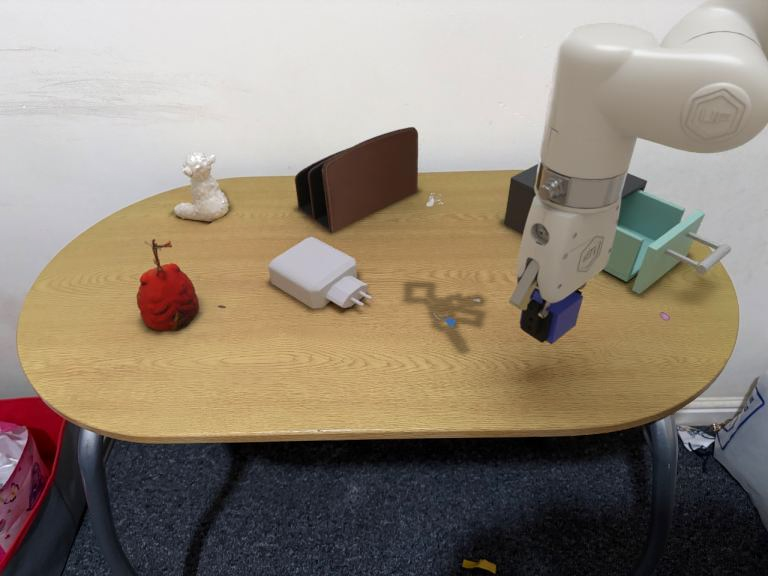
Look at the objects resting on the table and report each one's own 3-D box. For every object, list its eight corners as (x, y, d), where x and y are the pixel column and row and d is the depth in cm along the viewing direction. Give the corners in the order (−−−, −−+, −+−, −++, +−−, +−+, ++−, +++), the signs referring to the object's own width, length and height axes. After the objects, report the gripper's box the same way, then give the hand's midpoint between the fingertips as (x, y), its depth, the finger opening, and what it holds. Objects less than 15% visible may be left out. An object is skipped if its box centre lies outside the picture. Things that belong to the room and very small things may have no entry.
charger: (345, 333, 72) (272, 288, 80) (389, 297, 77) (316, 258, 85) (342, 307, 69) (266, 262, 76) (388, 272, 74) (313, 233, 82)
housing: (630, 232, 88) (647, 180, 82) (577, 269, 81) (592, 216, 75) (556, 197, 97) (567, 148, 90) (503, 228, 90) (510, 177, 83)
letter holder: (418, 195, 98) (420, 122, 89) (331, 238, 89) (323, 160, 79) (383, 175, 104) (381, 104, 95) (298, 213, 95) (286, 139, 85)
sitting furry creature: (218, 194, 100) (202, 133, 92) (247, 209, 96) (233, 147, 88) (174, 216, 95) (153, 153, 87) (202, 233, 91) (183, 169, 83)
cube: (543, 306, 62) (549, 276, 59) (575, 325, 60) (583, 296, 57) (519, 323, 60) (524, 294, 57) (551, 345, 58) (558, 315, 55)
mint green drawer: (724, 273, 78) (747, 229, 73) (678, 315, 72) (699, 270, 67) (608, 219, 90) (620, 177, 84) (559, 251, 83) (569, 208, 78)
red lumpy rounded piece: (189, 295, 79) (158, 208, 69) (212, 319, 75) (184, 230, 65) (139, 320, 75) (99, 231, 65) (161, 347, 71) (122, 257, 61)
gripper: (556, 232, 42) (526, 382, 54) (668, 160, 50) (620, 306, 62) (484, 196, 46) (470, 342, 58) (597, 136, 54) (565, 275, 66)
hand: (547, 322), depth 60 cm, fingers closed on cube, 4 cm apart
